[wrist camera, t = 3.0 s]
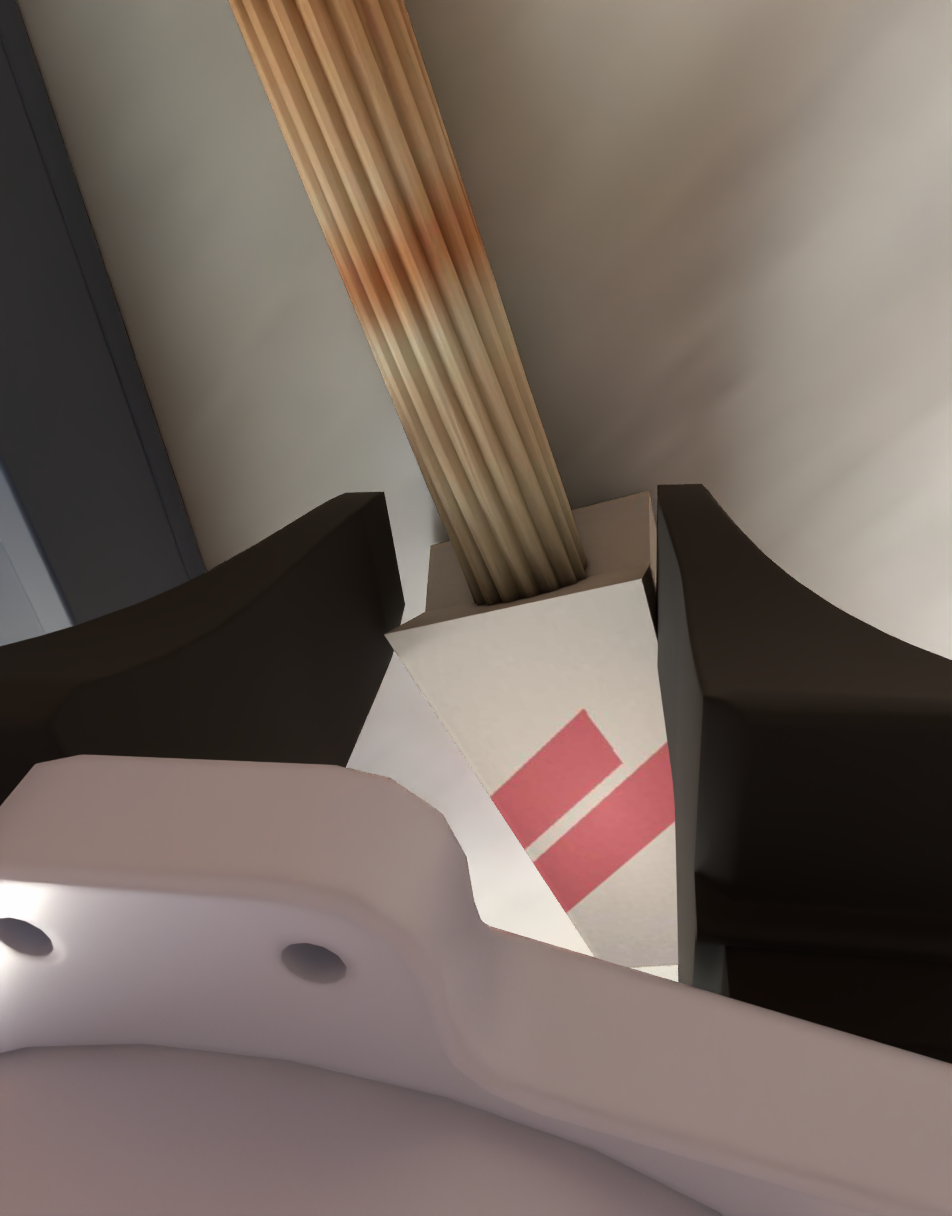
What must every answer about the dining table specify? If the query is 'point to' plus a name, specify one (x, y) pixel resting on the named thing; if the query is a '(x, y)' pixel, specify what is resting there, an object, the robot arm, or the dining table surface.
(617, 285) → the dining table surface
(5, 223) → the tray
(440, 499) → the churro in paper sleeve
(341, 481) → the dining table surface
